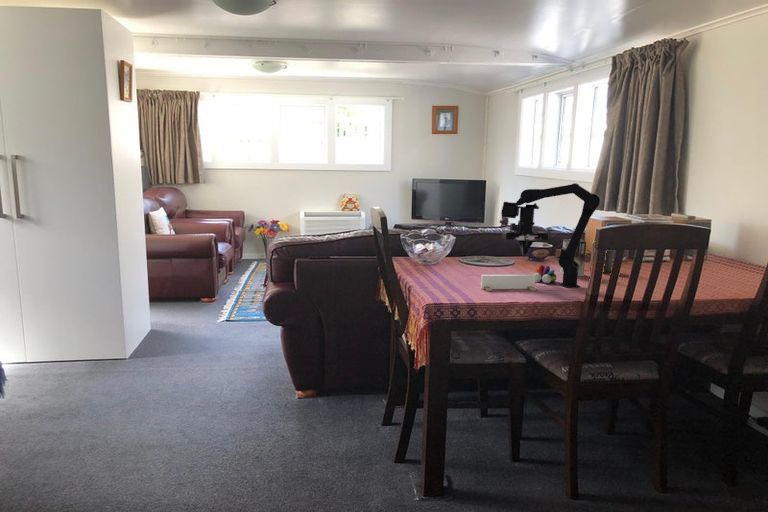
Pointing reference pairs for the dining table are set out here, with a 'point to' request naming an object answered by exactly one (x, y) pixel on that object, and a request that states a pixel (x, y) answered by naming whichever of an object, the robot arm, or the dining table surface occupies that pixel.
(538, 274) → the pom poms
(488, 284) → the white rectangular box
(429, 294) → the dining table surface
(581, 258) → the coffee box
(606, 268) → the pillar candle
